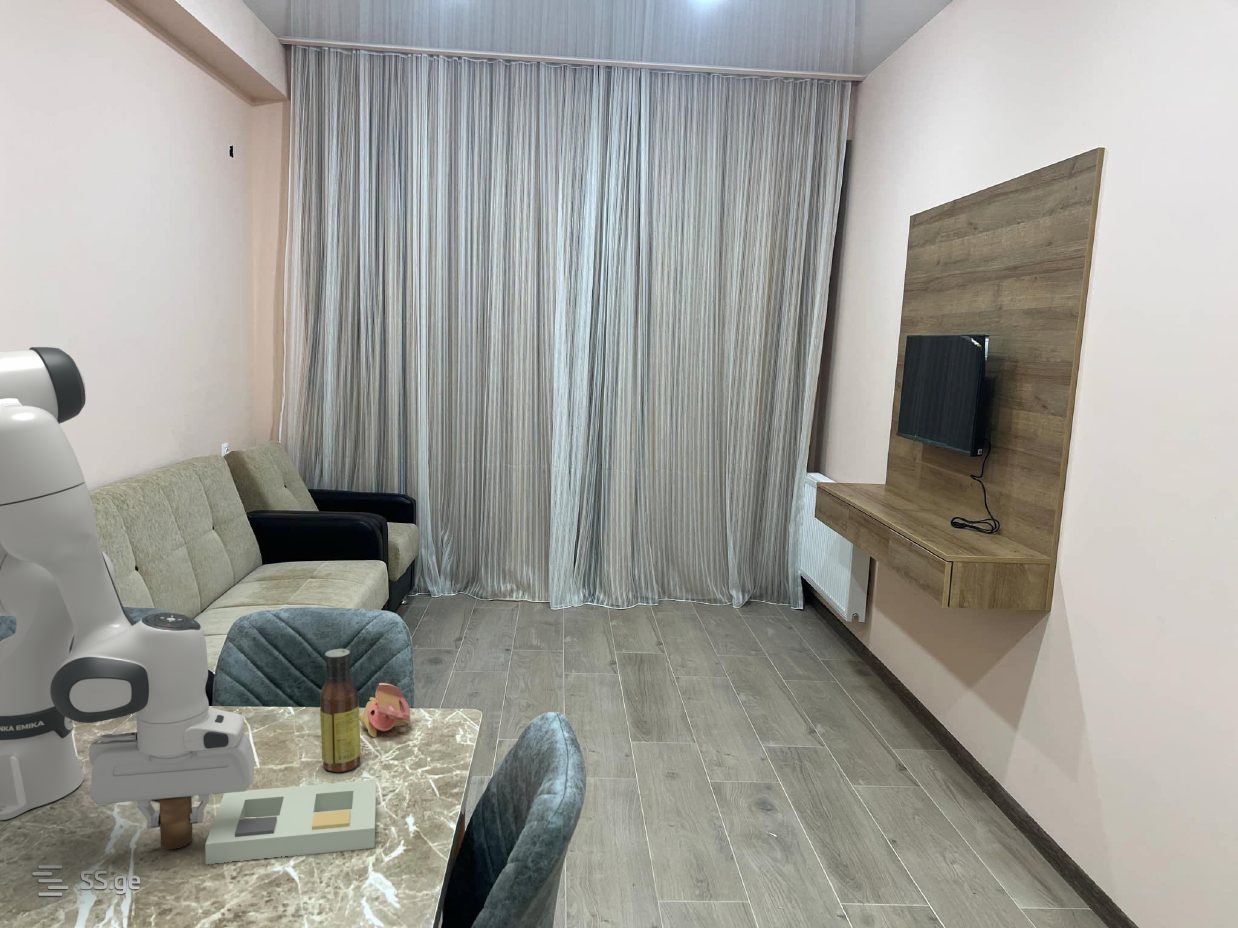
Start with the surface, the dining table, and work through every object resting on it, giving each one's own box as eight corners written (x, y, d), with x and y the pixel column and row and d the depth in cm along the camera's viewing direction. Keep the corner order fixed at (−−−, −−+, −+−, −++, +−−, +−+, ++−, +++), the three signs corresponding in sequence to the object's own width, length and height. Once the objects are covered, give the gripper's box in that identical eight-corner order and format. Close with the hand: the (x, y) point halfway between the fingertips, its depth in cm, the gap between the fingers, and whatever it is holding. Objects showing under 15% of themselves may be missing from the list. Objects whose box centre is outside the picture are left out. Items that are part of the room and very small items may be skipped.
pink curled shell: (347, 740, 156) (351, 690, 162) (391, 751, 163) (394, 702, 169) (379, 724, 152) (383, 673, 158) (423, 736, 159) (425, 687, 164)
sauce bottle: (366, 758, 149) (367, 647, 146) (351, 775, 143) (352, 660, 140) (329, 754, 149) (329, 644, 147) (313, 772, 143) (313, 657, 141)
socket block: (205, 864, 117) (205, 840, 116) (224, 810, 130) (224, 788, 130) (374, 847, 123) (374, 824, 122) (376, 797, 136) (376, 776, 136)
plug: (157, 849, 119) (156, 802, 118) (164, 833, 123) (163, 787, 122) (189, 846, 120) (188, 799, 119) (195, 831, 124) (194, 785, 123)
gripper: (80, 746, 113) (84, 844, 115) (249, 734, 118) (250, 828, 120) (95, 725, 119) (99, 818, 121) (255, 714, 124) (256, 804, 126)
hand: (175, 823), depth 121 cm, fingers closed on plug, 4 cm apart
